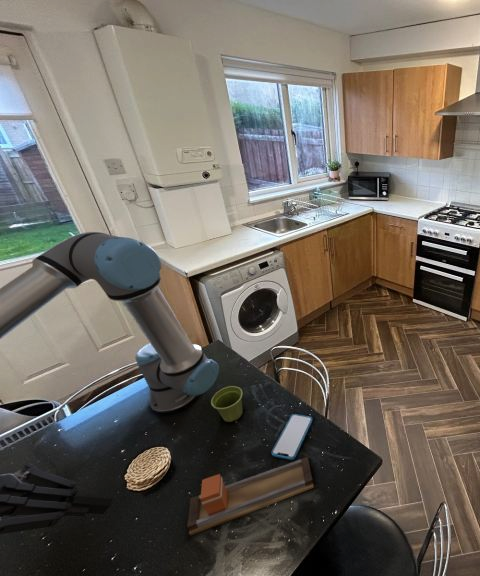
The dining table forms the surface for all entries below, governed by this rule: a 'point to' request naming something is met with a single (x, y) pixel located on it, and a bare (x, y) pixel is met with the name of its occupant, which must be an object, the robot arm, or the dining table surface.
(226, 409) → the plant pot
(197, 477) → the dining table surface
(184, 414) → the dining table surface
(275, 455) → the smartphone
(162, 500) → the dining table surface
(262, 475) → the rail
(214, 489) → the orange block
